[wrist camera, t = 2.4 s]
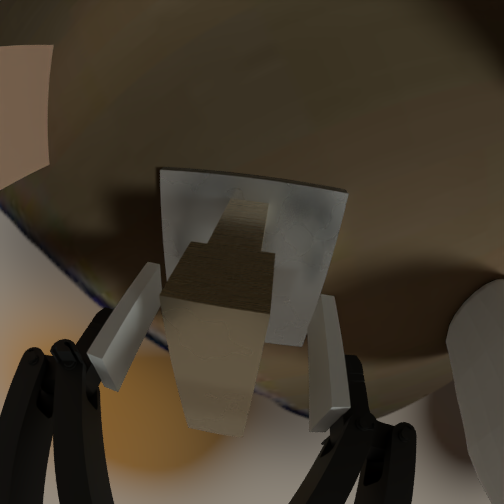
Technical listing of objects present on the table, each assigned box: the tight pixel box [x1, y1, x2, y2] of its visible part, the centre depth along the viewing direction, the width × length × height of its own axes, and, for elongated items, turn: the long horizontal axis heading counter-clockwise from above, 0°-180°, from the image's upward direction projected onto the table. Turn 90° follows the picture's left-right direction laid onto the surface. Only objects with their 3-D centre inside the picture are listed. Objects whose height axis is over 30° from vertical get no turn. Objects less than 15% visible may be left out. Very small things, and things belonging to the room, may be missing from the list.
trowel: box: [159, 167, 348, 438], centre depth 13 cm, size 12×10×9 cm
